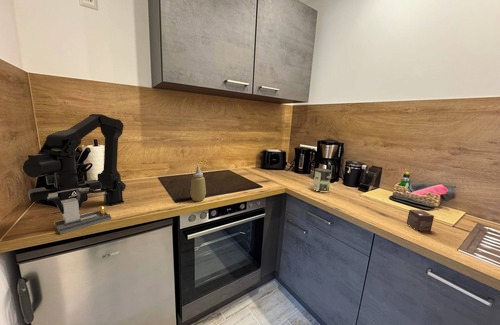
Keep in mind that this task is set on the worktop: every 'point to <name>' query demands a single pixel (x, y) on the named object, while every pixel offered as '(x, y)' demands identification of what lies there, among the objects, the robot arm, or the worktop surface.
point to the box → (420, 220)
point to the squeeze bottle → (198, 186)
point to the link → (74, 212)
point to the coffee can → (322, 179)
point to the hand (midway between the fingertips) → (70, 211)
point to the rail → (83, 222)
